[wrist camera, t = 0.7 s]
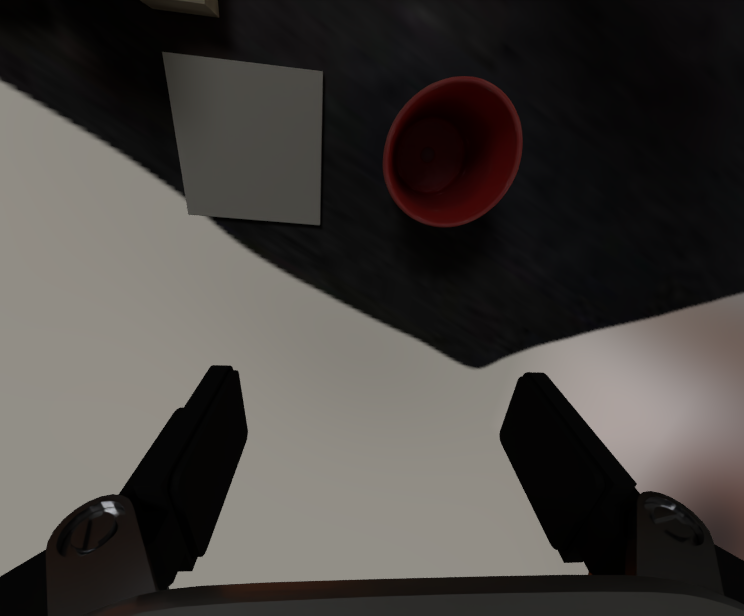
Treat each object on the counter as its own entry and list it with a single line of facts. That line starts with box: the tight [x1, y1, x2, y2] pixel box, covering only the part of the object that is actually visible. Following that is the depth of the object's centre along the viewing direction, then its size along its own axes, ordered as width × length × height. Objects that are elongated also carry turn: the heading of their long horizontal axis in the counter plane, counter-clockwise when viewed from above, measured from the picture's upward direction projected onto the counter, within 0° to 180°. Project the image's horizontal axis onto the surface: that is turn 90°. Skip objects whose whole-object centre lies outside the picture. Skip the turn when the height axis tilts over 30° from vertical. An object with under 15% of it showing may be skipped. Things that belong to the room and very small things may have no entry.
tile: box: [162, 52, 323, 225], centre depth 32 cm, size 14×14×1 cm
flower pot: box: [383, 76, 523, 227], centre depth 29 cm, size 11×11×10 cm
